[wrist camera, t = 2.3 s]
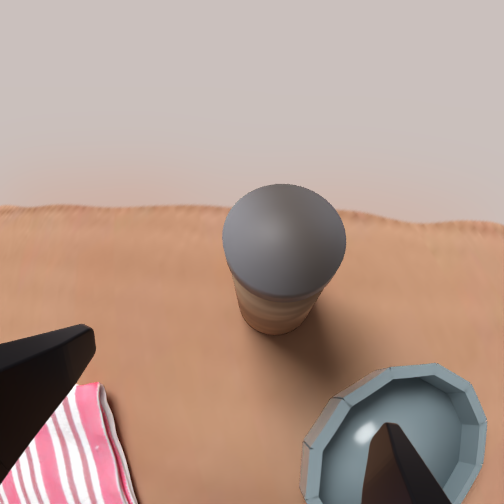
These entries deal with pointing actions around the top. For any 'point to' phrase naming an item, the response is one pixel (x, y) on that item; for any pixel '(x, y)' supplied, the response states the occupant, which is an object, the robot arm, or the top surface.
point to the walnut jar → (281, 254)
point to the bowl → (411, 422)
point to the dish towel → (73, 457)
